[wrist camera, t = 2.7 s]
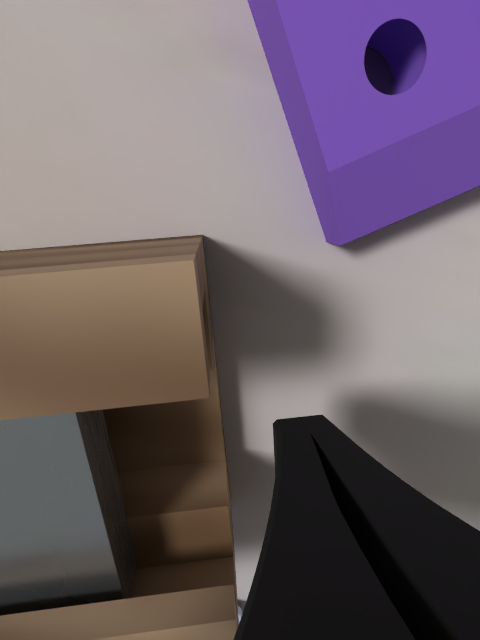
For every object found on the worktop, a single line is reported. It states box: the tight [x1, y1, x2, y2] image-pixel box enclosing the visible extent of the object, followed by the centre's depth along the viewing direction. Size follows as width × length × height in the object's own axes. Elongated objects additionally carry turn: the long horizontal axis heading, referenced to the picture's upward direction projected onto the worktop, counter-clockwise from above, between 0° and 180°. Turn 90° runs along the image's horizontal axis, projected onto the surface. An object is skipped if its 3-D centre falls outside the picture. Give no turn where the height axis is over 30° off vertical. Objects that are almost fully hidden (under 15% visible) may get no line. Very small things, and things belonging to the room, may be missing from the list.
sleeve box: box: [0, 235, 239, 640], centre depth 9 cm, size 11×12×6 cm
